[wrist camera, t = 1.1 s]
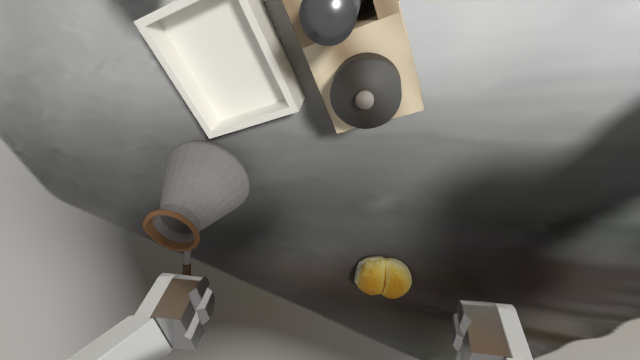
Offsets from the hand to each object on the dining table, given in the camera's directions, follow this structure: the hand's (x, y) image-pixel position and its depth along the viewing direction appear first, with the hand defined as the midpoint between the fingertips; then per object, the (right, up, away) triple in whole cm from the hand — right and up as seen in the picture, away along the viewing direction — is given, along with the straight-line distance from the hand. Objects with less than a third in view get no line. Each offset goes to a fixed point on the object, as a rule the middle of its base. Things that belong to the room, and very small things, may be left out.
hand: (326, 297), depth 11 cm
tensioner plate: (+3, +19, +24) cm, 30 cm away
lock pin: (+2, +22, +22) cm, 31 cm away
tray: (-10, +17, +27) cm, 34 cm away
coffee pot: (-15, +2, +41) cm, 44 cm away
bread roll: (+10, -11, +46) cm, 48 cm away
